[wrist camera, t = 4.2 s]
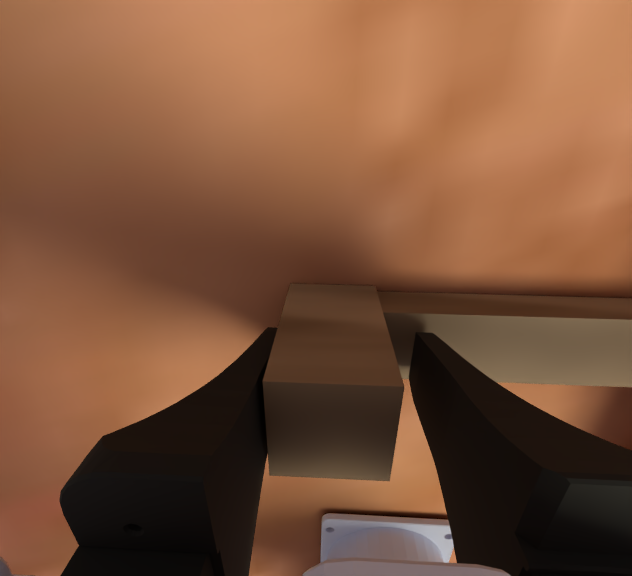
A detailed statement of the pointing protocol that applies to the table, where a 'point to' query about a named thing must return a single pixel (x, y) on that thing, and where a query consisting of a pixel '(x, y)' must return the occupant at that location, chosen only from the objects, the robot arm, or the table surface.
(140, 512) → the robot arm
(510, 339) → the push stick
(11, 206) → the table surface
